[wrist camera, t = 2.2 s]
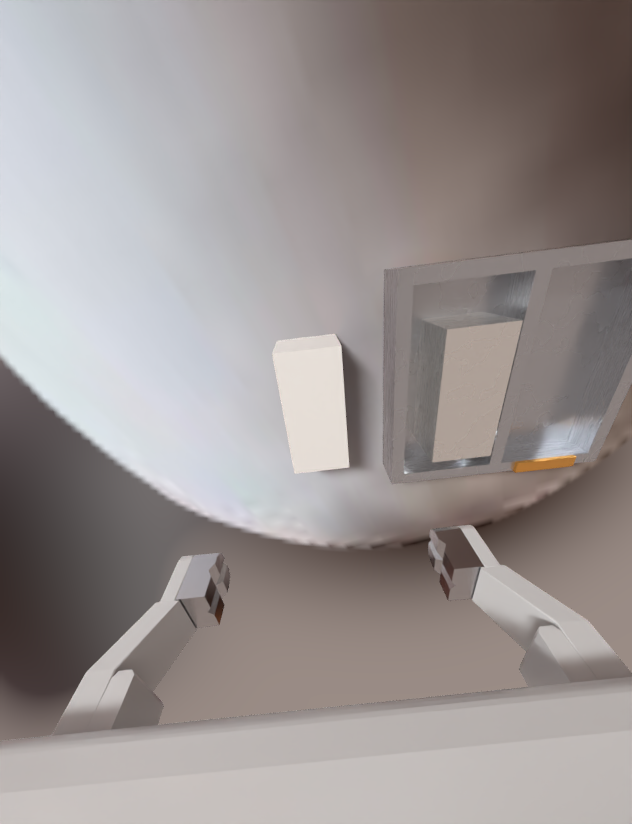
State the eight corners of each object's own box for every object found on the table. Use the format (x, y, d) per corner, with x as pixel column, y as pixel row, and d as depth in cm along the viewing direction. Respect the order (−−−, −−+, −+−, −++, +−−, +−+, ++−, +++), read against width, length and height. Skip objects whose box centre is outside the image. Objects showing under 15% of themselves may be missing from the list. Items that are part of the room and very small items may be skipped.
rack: (384, 269, 19) (408, 268, 14) (645, 236, 18) (748, 225, 14) (382, 465, 27) (398, 501, 22) (564, 444, 26) (615, 477, 22)
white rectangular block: (277, 340, 21) (271, 353, 17) (334, 333, 21) (341, 345, 17) (295, 445, 25) (294, 473, 22) (342, 440, 25) (349, 467, 22)
